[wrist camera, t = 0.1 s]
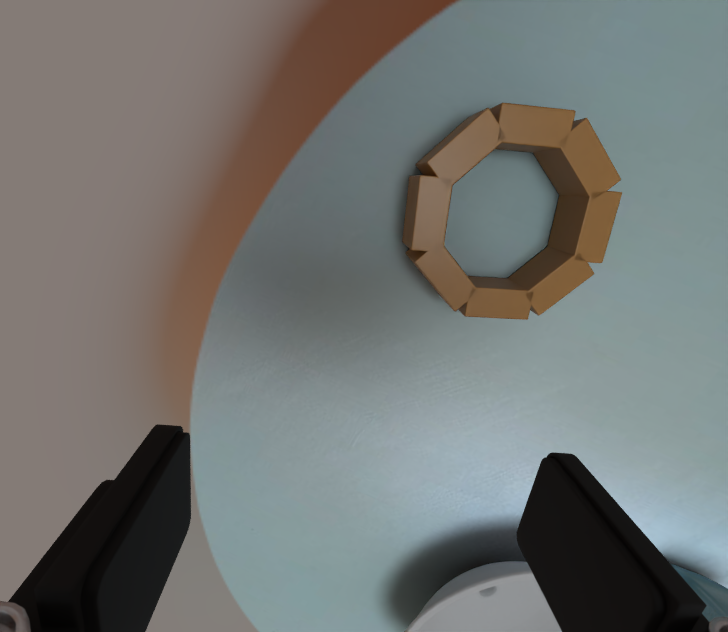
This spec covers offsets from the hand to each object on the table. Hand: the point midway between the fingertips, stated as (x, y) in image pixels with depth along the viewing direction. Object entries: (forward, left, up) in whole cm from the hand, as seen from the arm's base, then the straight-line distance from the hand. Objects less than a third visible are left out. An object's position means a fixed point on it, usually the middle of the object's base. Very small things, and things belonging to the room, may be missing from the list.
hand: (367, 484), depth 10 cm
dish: (+24, +15, -16) cm, 33 cm away
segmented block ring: (-7, +8, -16) cm, 19 cm away
